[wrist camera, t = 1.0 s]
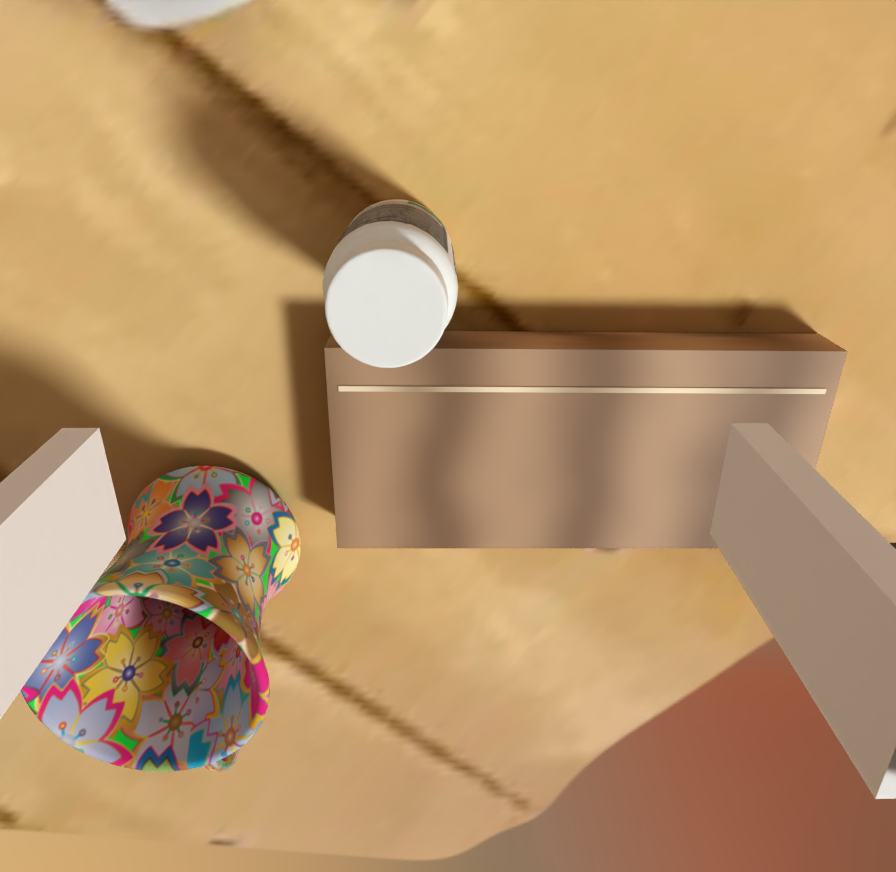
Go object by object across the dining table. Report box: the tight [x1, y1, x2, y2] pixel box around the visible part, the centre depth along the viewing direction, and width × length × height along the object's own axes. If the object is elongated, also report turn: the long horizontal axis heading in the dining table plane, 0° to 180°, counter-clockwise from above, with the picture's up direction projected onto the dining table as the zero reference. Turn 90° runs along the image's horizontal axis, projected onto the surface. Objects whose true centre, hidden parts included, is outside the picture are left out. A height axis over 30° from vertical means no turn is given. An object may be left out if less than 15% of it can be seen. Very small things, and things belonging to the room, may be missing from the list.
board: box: [324, 331, 847, 548], centre depth 33 cm, size 22×10×3 cm, turn 89°
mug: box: [21, 466, 301, 772], centre depth 32 cm, size 12×9×11 cm
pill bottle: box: [323, 199, 458, 368], centre depth 26 cm, size 5×5×8 cm
